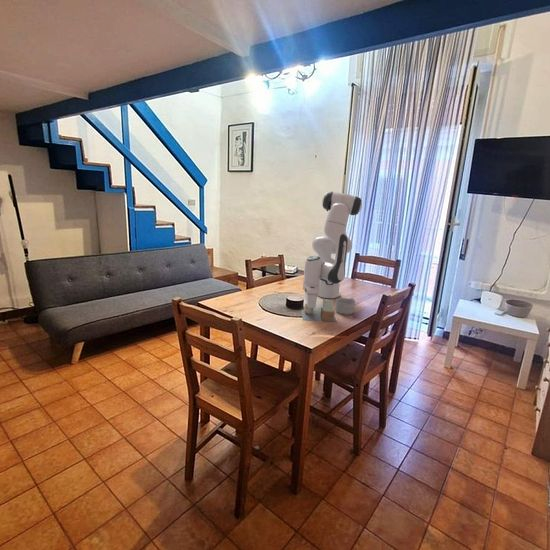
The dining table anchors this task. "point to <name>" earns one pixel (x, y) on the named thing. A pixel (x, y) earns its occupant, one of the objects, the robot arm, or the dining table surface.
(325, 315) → the walnut base block
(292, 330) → the dining table surface
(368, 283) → the dining table surface
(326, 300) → the sage top block
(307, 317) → the slate board
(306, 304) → the beech cylinder
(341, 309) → the teacup
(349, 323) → the dining table surface
